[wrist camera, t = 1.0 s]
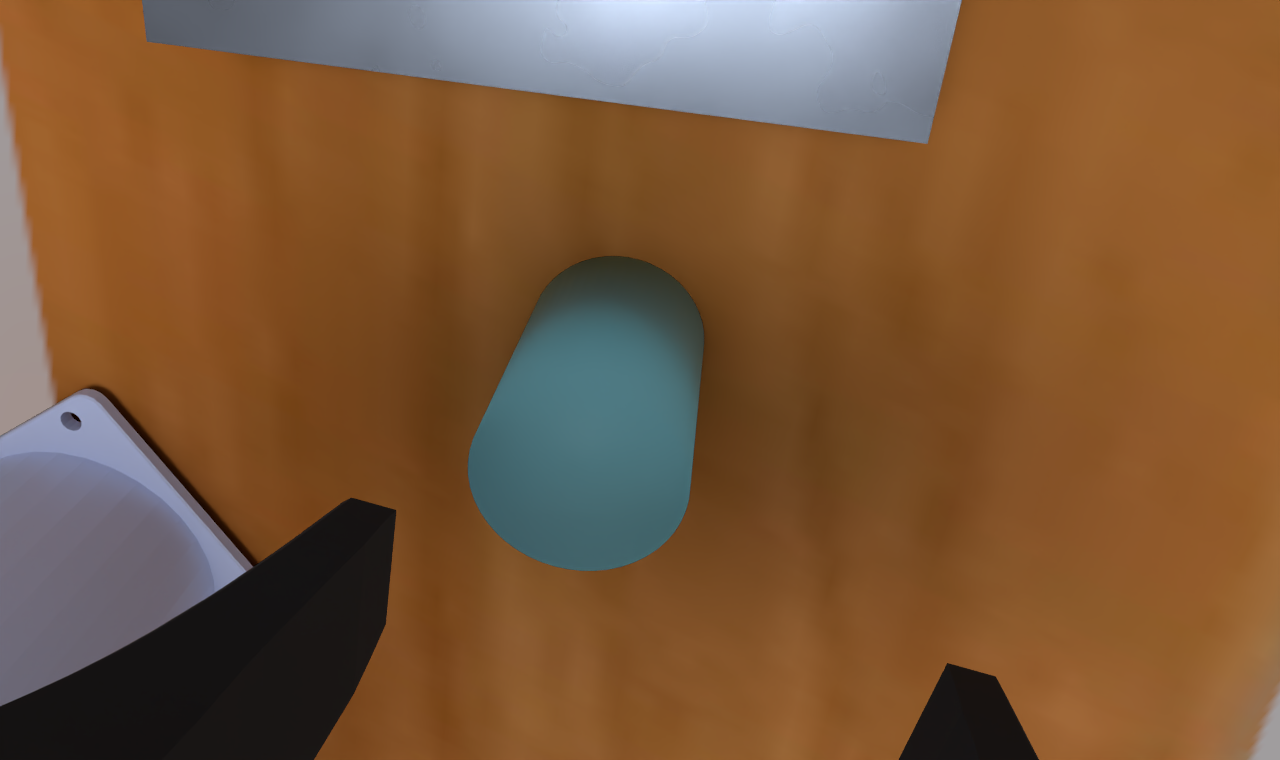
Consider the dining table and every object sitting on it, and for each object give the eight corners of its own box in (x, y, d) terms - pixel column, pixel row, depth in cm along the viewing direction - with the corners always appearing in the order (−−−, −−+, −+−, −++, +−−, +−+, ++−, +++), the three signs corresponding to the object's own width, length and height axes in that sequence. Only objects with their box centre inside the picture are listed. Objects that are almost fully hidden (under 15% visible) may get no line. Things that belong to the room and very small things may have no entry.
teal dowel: (588, 438, 25) (543, 598, 20) (497, 304, 24) (424, 437, 18) (734, 372, 24) (729, 523, 19) (649, 225, 22) (617, 343, 17)
